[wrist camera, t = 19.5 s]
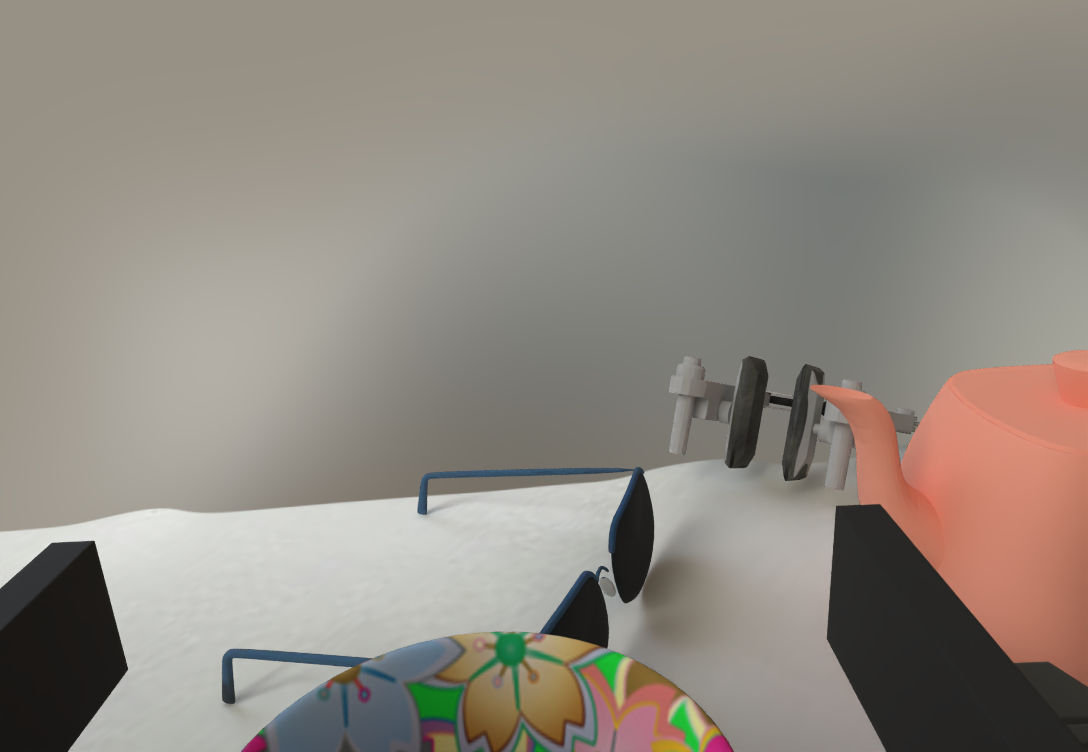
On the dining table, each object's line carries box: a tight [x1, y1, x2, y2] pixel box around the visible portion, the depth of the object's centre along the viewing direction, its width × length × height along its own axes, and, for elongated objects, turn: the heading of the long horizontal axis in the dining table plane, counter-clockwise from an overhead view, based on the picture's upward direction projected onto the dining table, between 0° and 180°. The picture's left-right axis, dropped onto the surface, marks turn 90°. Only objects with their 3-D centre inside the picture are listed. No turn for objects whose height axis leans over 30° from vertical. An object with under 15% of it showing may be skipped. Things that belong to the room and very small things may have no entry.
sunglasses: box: [222, 467, 654, 704], centre depth 38 cm, size 17×15×5 cm
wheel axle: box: [669, 356, 920, 490], centre depth 52 cm, size 14×7×20 cm
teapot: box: [810, 350, 1088, 687], centre depth 33 cm, size 13×20×12 cm, turn 90°
